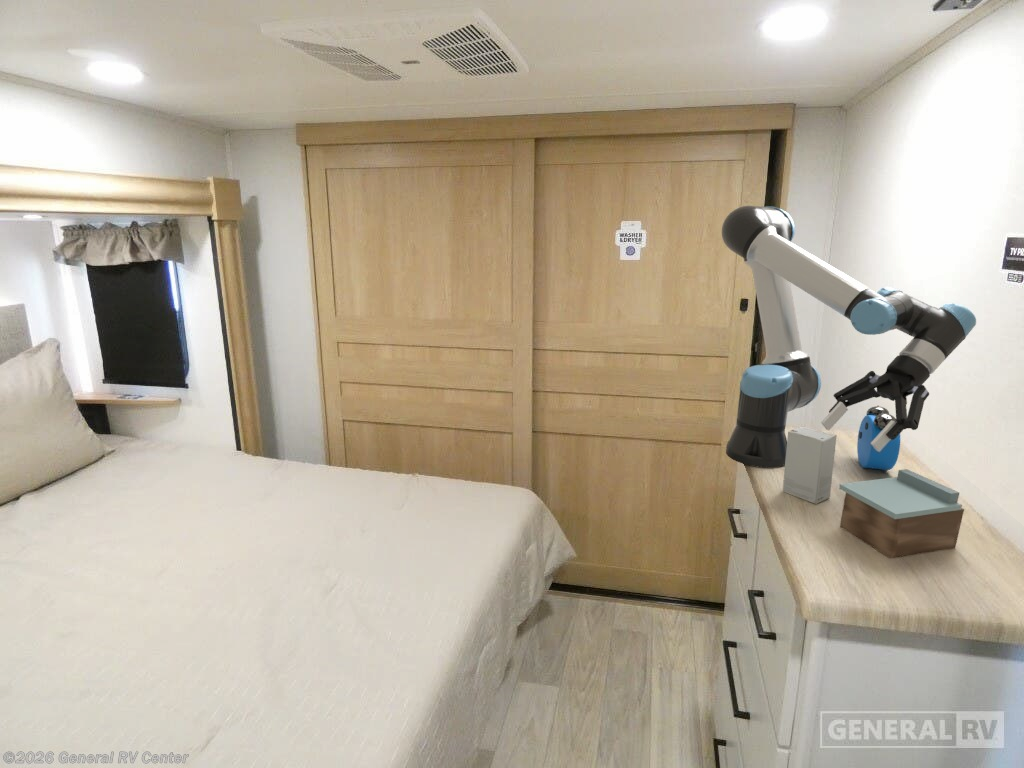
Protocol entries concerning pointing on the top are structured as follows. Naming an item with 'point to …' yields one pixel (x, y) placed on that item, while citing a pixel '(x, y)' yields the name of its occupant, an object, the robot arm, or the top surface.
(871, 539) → the box
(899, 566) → the top surface
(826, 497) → the skincare box
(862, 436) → the alarm clock
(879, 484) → the lid
